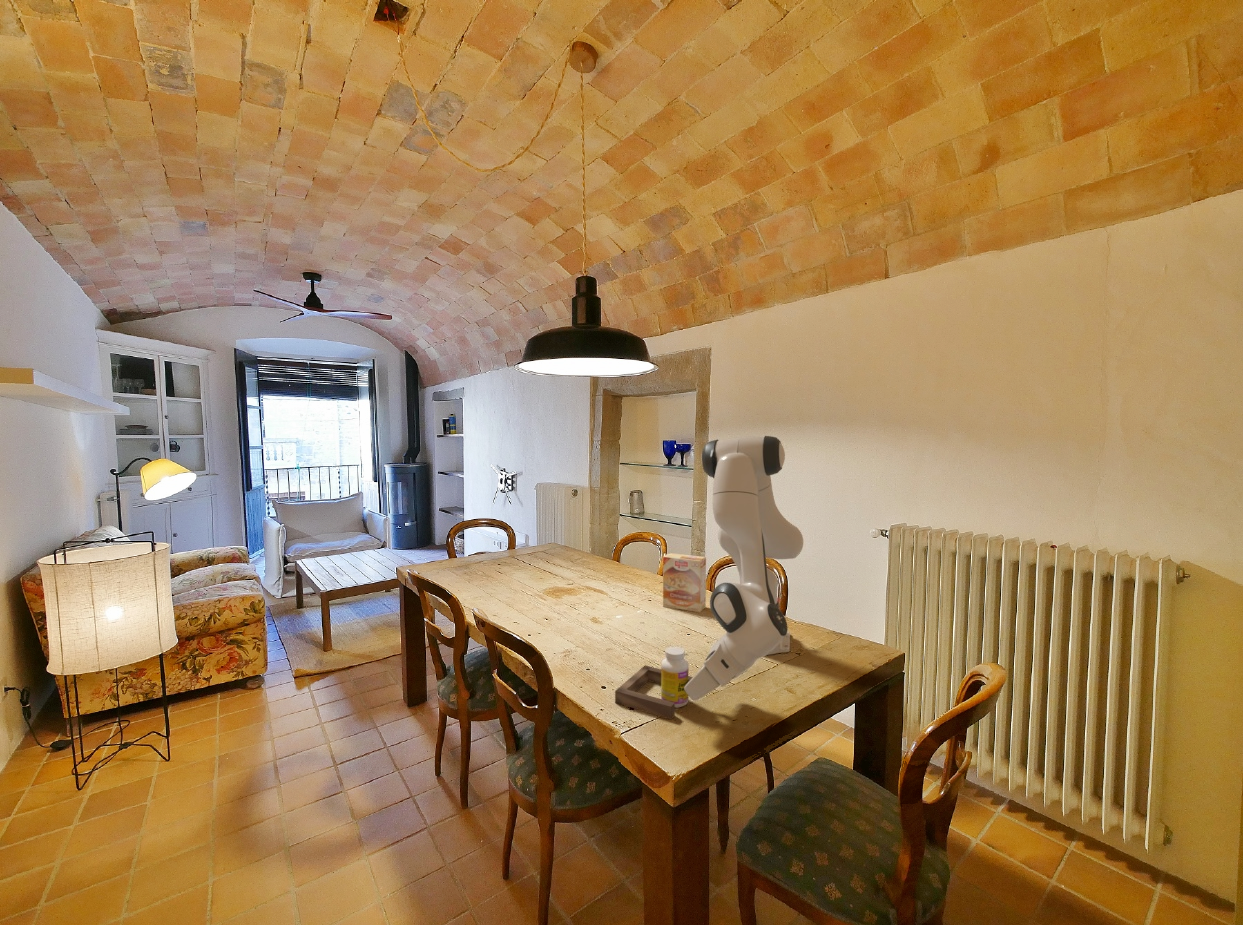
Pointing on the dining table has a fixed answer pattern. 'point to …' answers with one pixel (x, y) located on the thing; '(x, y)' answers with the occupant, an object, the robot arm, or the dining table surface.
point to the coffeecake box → (684, 582)
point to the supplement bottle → (674, 676)
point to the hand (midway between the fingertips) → (690, 687)
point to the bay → (643, 702)
